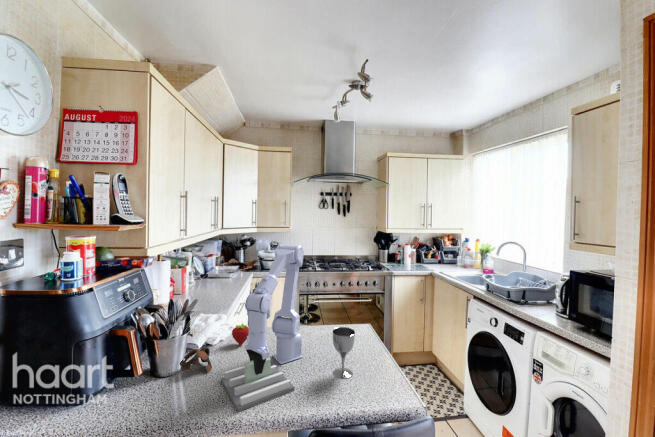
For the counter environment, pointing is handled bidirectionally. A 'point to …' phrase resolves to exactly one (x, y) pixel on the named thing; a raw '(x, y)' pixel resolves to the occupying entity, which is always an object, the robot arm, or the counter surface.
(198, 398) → the counter surface
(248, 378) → the mint green upright block
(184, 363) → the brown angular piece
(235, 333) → the strawberry
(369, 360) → the counter surface
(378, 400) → the counter surface
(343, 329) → the wine glass
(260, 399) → the rack
